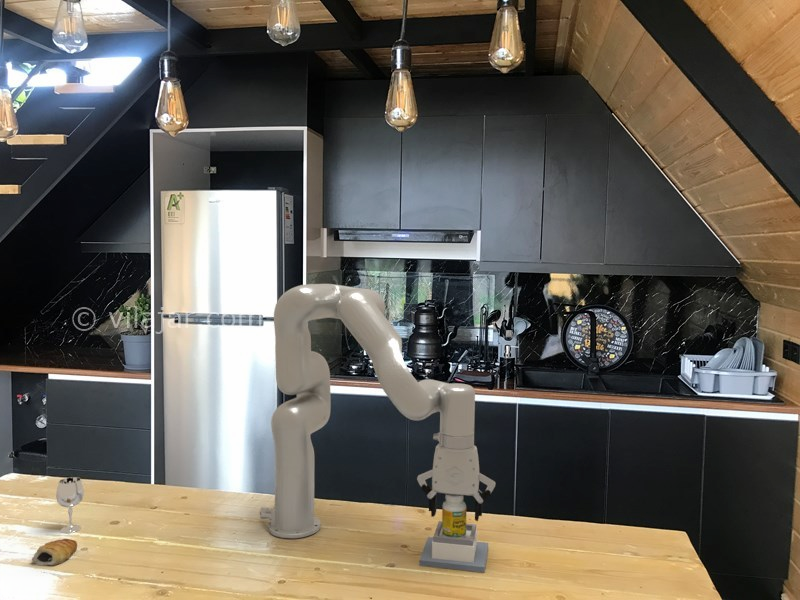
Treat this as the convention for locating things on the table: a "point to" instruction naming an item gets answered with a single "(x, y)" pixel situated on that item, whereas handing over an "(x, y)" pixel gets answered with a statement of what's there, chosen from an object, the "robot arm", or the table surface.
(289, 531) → the robot arm
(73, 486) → the wineglass
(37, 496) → the table surface
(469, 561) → the display stand
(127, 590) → the table surface
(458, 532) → the supplement bottle
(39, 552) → the pastry
